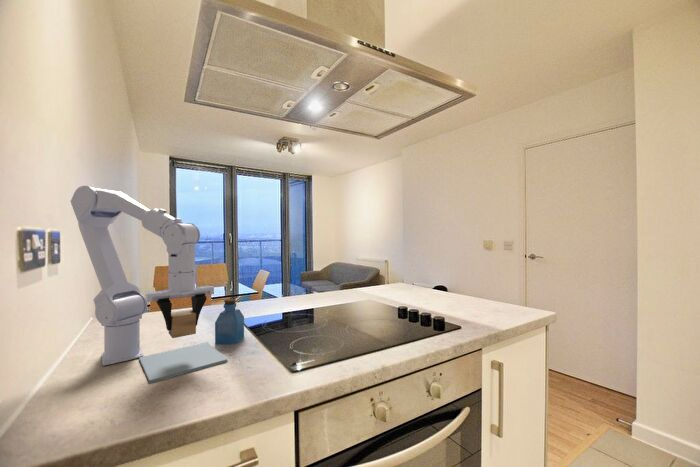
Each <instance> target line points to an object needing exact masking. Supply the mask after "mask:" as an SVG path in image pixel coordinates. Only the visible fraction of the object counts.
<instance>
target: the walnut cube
mask: <svg viewBox="0 0 700 467" xmlns="http://www.w3.org/2000/svg"><path fill="white" fill-rule="evenodd" d="M171 324H172V326H171V330H169V331H168V334H169V336H170V337H171V338H172V339H176V338H181V337H186V336H191V335H196V334H197V325H196V313H195V312H194V311H192V309H186V310H178V311H171Z"/></svg>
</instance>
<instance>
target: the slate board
mask: <svg viewBox="0 0 700 467" xmlns="http://www.w3.org/2000/svg"><path fill="white" fill-rule="evenodd" d="M138 359H139V362H140V364H141V366H142V369H143V371H144V374H145V376H146V378H147V380H148V382H149V384H152V383H155V382H158V381H163V380H166V379H170V378H175V377H177V376H180V375H184V374H188V373H191V372H195V371H199V370H202V369H205V368H209V367H213V366H216V365H221V364H224V363H228V358H227V357H226V356H224V355H223V353H221V352H220V351H219V350H217V349H216V348H215V347H214V346H213V345H212V344H211V343H209V341H208V342H207V341H206V342H202V343H198V344H193V345H188V346H184V347H180V348H176V349H171V350H167V351H162V352H157V353H154V354H149V355H145V356H144V355H143V357H139V358H138Z"/></svg>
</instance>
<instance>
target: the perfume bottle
mask: <svg viewBox="0 0 700 467" xmlns="http://www.w3.org/2000/svg"><path fill="white" fill-rule="evenodd" d="M236 300H237V299H236V298H226V299H224V300H223V301H224V304H223V309H224V310H223V311H221V312H220V313H219V315H218V317H217V319H216V320H215V321H214V322H215V323H214V344H215V345H238V344H239V342H241V340H243V338H244V337H245V316H244V314H243V313H242V312H241V310H240V309H239V308H237V302H236Z"/></svg>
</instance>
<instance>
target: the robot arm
mask: <svg viewBox="0 0 700 467" xmlns="http://www.w3.org/2000/svg"><path fill="white" fill-rule="evenodd" d="M70 204H71V208H72V209H73V212H74V215H75V218H76V221H77V222H78V223H77V224H78V229H79V231H80V235H81V237H82V240H83V242H84V245H85V248H86V251H87V253H88V256H89V259H90V261H91V265H92V267H93V269H94V273H95V275H96V277H97V281H98V283H99V285H100V291H99V292H98V294H97V295H96V296H95V297H94V298H93V303H94V306H95V310H94V315H95V316H94V317H95V319H97V322H98V323H100V324H101V326H102V327H104V330H103V332H104V335H103V338H104V340H103V342H104V346H103V347H104V349H103V351H104V352H101V362H102V366H109V365H113V364H117V363H122V362H126V361H131V360H135V359H139V357H144V353H143V351H142V349H141V347H140V345H141V344H140V343H141V342H140V340H141V338H140V336H141V335H140V334H141V333H140V321H141V319H143V315H144V314H146V311H147V308H148V303H153V302H156V305H158V307H159V309H160V312H161V313H162V316H163V319H164V322H165V328H166V331H168V332H169V330H171V326H172V324H171V312H172V307H173V303H171V300H174V299H175V300H176V299H182V298H189V297H190V299H191V307H192V308H191V310H192V311H194V312H195V313H196V326H198V322H199V319H200V315H201V311H202V309H203V307H204V305H205V303H206V301H207V297H208V296H206V295H215V286H212V285H208V286H196V244H198V243H199V241H200V238H201V233H200V229H199V228H198V226H196V225H195V224H194V223H190V222H187V223H186V222H185V223H184V222H183V220H182V218H180V217H174V216H173V215H170V214H168V210H166V209H164V208H152V209H149V208H148V207H146V206H145V205H143V204H142V203H140V202H138V201H136V200H135V199H133V198H132V197H130V196H129V194H127V193H124V192H122V191H121V190H110V189H103V188H97V187H92V186H89V185H81V186H79V187H78V188H76V189H75V190H74V193H73V195H72V197H71V200H70ZM122 213H124V214H126V215H129V216H130V217H132V218H134V219H136V220H138V221H140V222H141V226H142V228H144V229H145V230H146V231H149V232H150V233H152V234H154V235H156V236H158V237H160V238H161V239H162V241H163V242H164V244H165V246H166V252H167V254H168V289H163V290H159V291H152V292H146V293H145V294H146V295H144V294H143V293H142V292H141V291H140V287H138V286H137V285H136V284H133V283H131V282H129V281H128V279H127V276H126V274H125V271H124V269H123V265H122V263H121V260H120V258H119V254H118V252H117V249H116V247H115V244H114V242H113V240H112V237H111V234H110V232H109V229H108V227H109V226H110V225H112V224H113V223H114V222H116V220H117V219H118V218H119V216H120V215H121V214H122Z"/></svg>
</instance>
